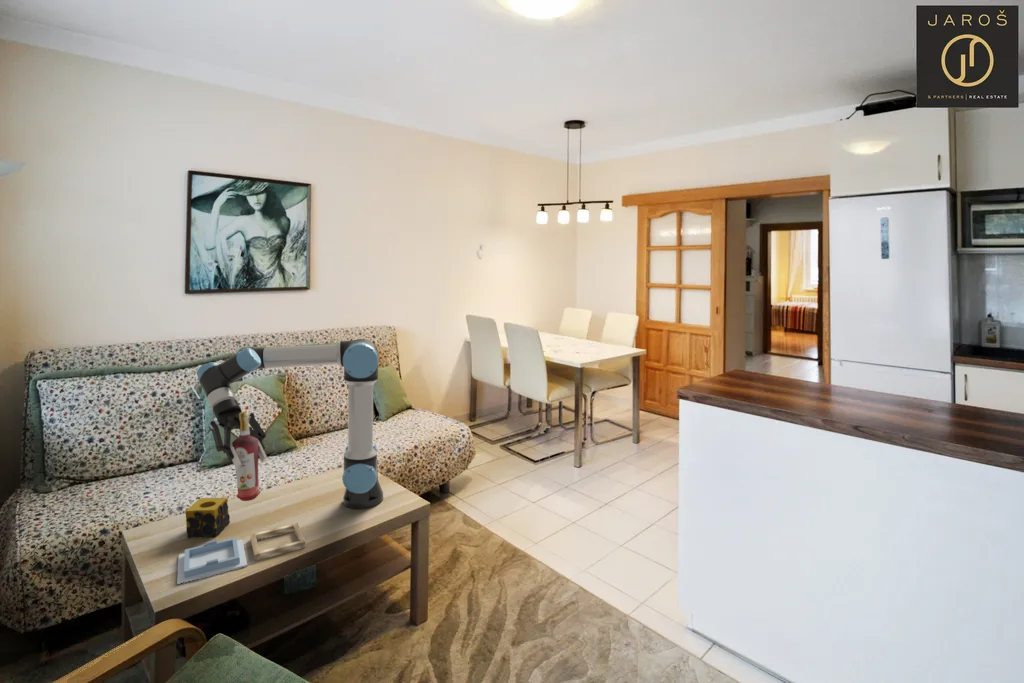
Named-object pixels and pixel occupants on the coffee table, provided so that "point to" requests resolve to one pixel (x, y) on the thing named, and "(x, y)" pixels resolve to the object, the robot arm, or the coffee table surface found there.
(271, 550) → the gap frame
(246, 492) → the liquor
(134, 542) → the coffee table surface
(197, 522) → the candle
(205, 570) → the tray
